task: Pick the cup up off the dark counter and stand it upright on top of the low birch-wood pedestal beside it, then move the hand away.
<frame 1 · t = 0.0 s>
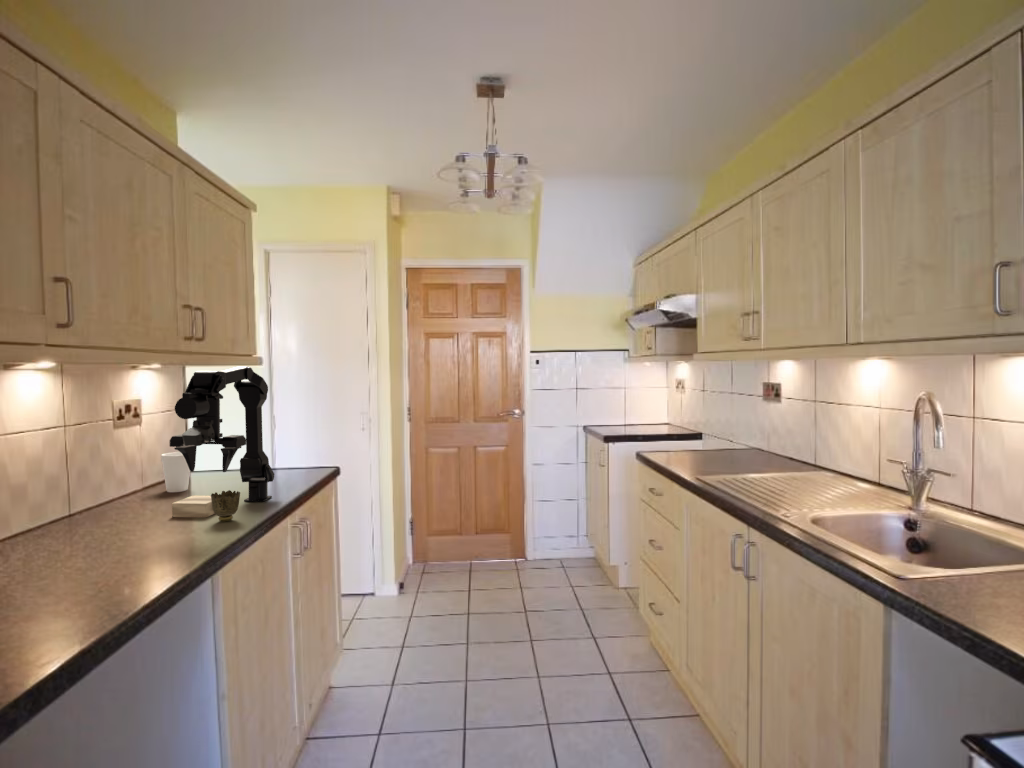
hand: (208, 471, 152), 15 cm above the countertop, tool pointing down, fingers open, 9 cm apart
pedestal: (199, 512, 163), on the countertop
foam cup: (177, 490, 193), on the countertop
cup: (225, 521, 155), on the countertop
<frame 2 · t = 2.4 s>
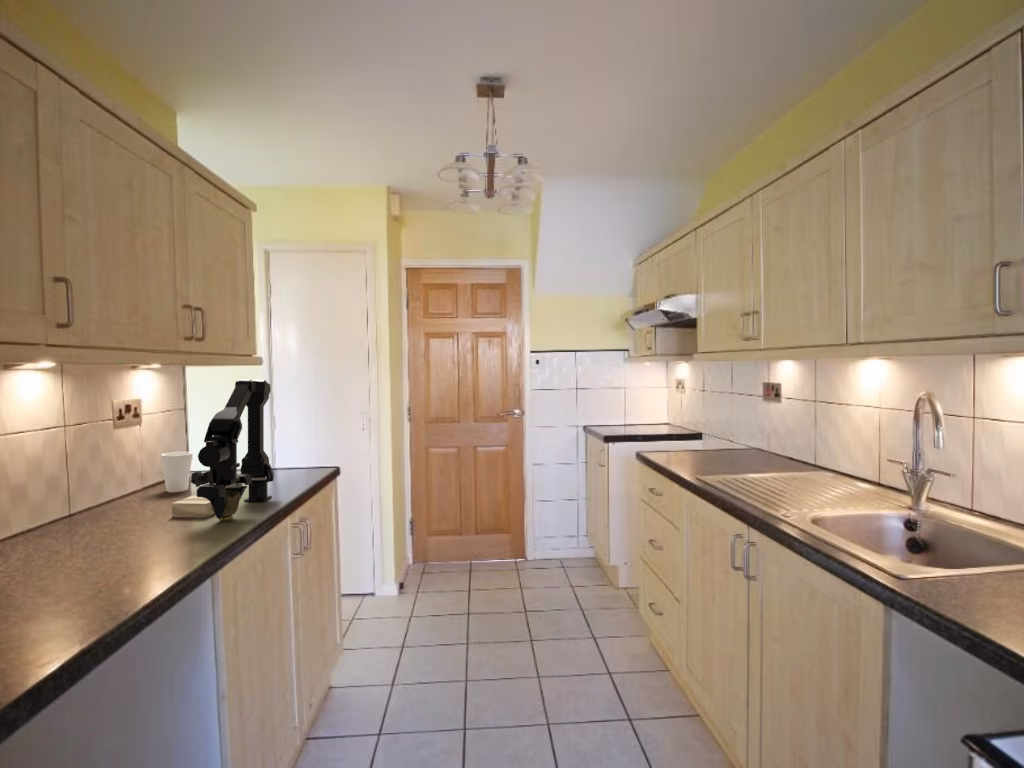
hand: (225, 515, 155), 2 cm above the countertop, tool pointing down, fingers closed on cup, 6 cm apart
cup: (225, 521, 155), on the countertop, touching gripper
everything else where it was.
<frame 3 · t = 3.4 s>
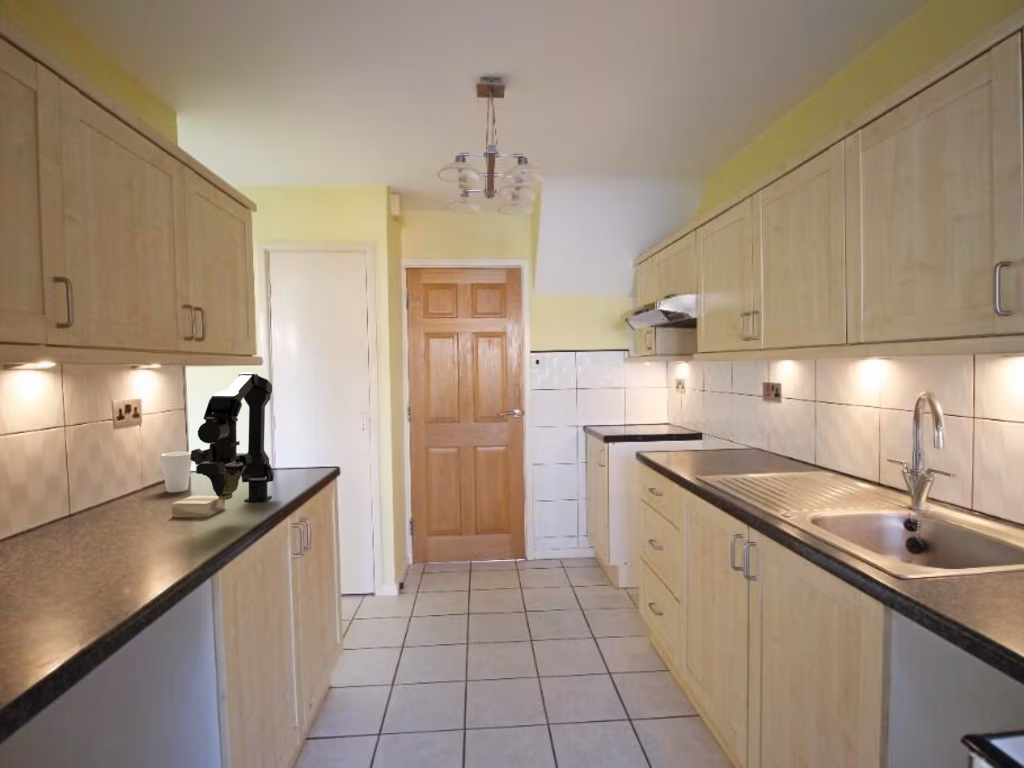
hand: (225, 493, 155), 8 cm above the countertop, tool pointing down, fingers closed on cup, 6 cm apart
cup: (225, 499, 155), point 6 cm above the countertop, touching gripper
everything else where it was.
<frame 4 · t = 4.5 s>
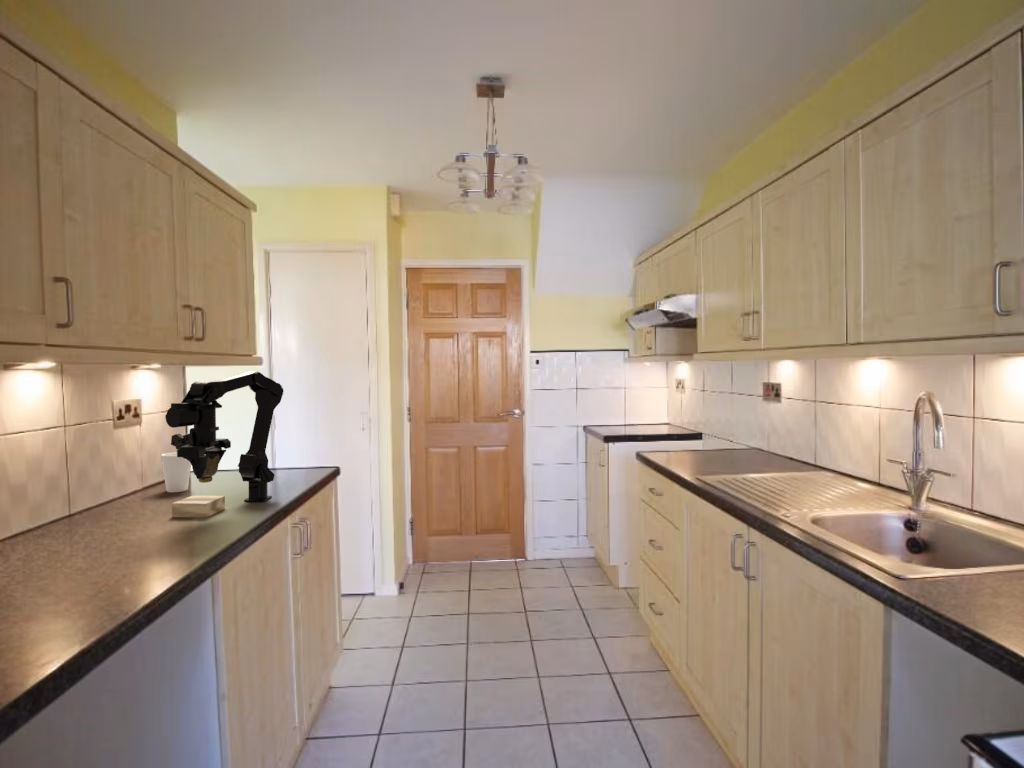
hand: (205, 476, 161), 11 cm above the countertop, tool pointing down, fingers closed on cup, 6 cm apart
cup: (205, 482, 161), point 10 cm above the countertop, touching gripper
everything else where it was.
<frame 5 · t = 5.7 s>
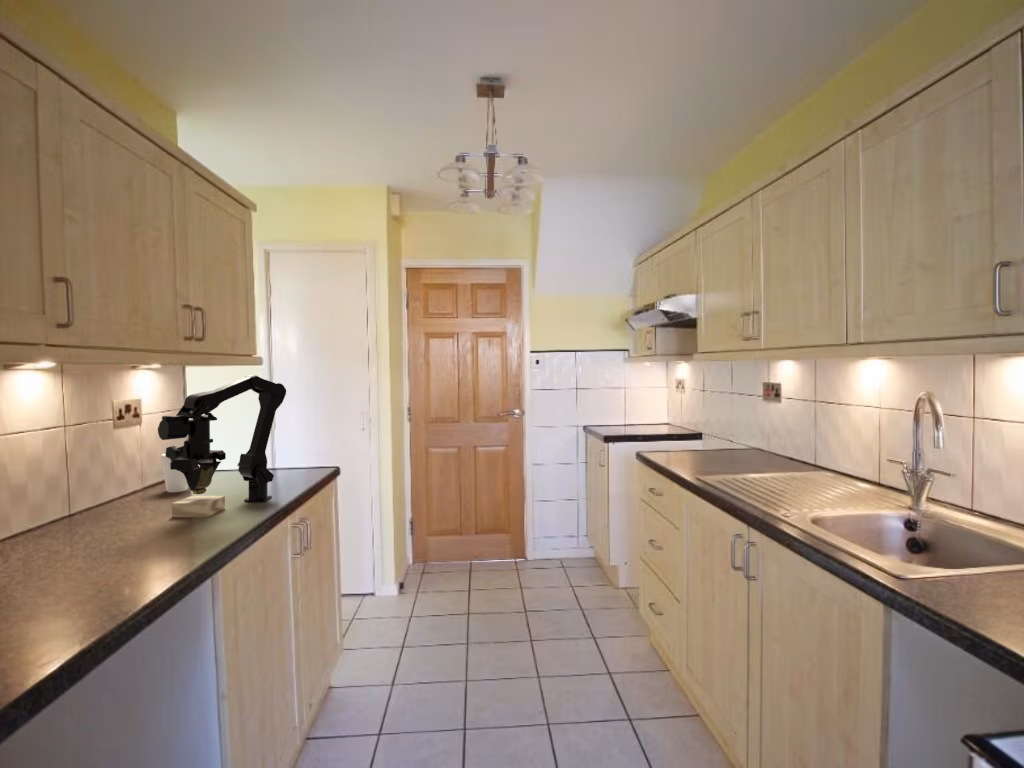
hand: (199, 488, 163), 7 cm above the countertop, tool pointing down, fingers closed on cup, 6 cm apart
cup: (199, 494, 163), point 6 cm above the countertop, touching gripper
everything else where it was.
when the fingers open (7 cm above the countertop, at t = 6.8 s): cup stays where it is, resting on pedestal.
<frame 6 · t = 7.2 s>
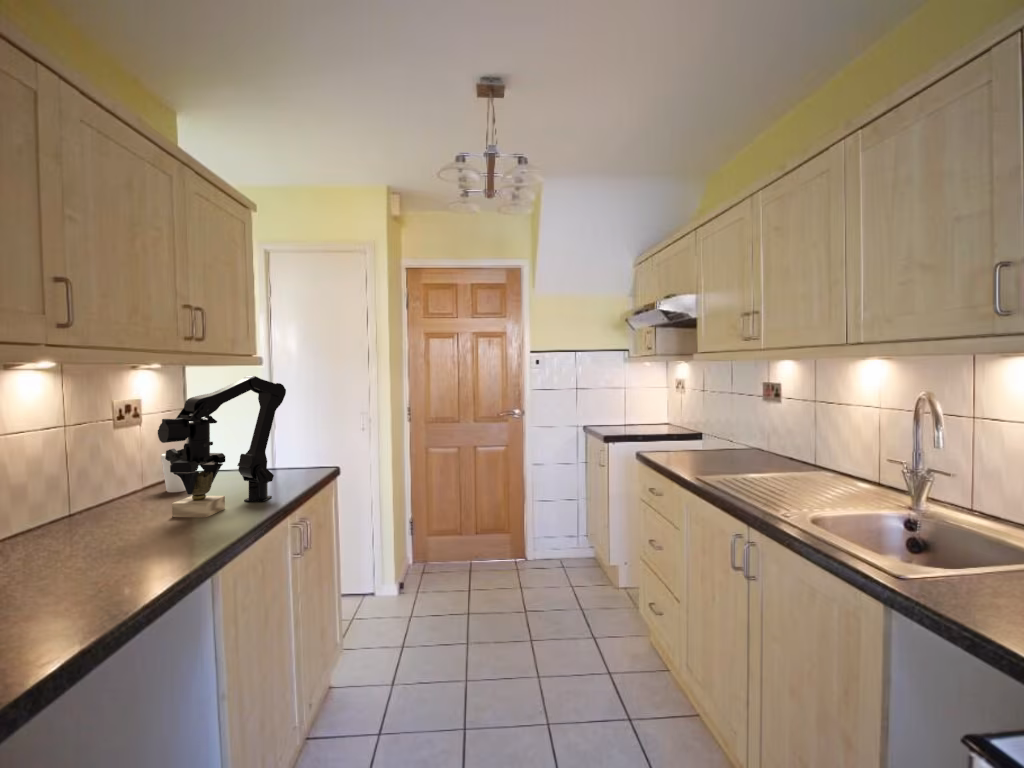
hand: (199, 490, 163), 7 cm above the countertop, tool pointing down, fingers open, 9 cm apart
cup: (198, 500, 163), point 4 cm above the countertop, touching pedestal
everything else where it was.
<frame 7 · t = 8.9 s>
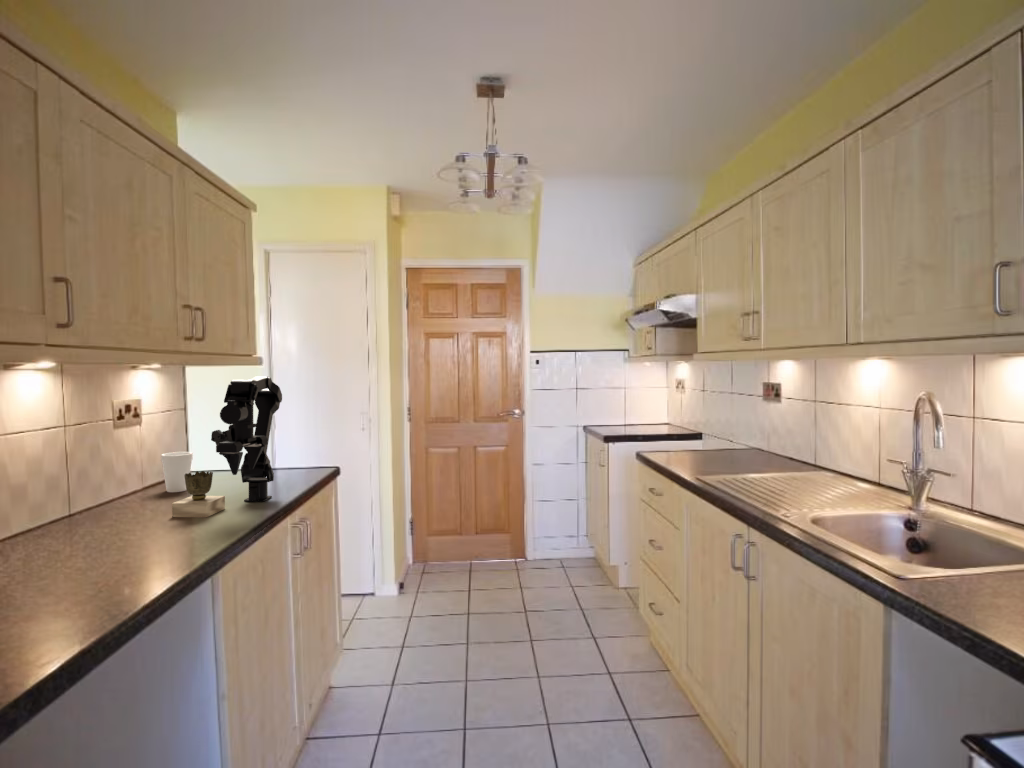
hand: (243, 471, 166), 12 cm above the countertop, tool pointing down, fingers open, 9 cm apart
nothing on the countertop moved.
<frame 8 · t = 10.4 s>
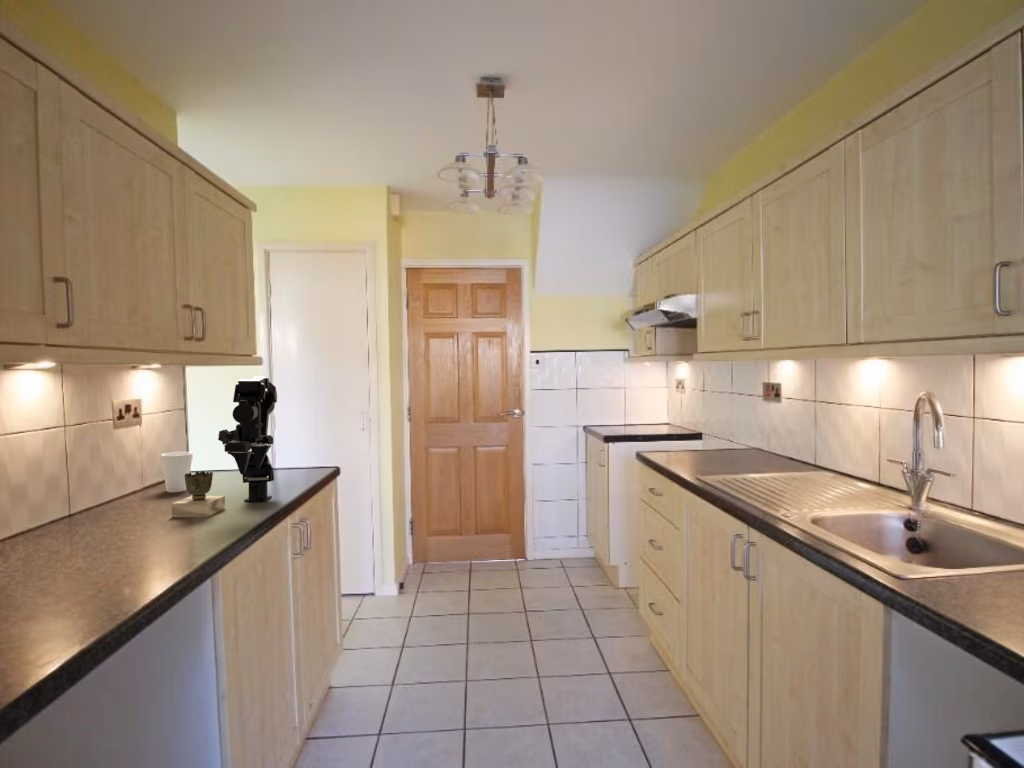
hand: (250, 471, 167), 12 cm above the countertop, tool pointing down, fingers open, 9 cm apart
nothing on the countertop moved.
at the end: cup 0.1 cm off-centre on the pedestal, point 3.8 cm above the pedestal's base; cup tilted 0°; the gripper is holding nothing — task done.
